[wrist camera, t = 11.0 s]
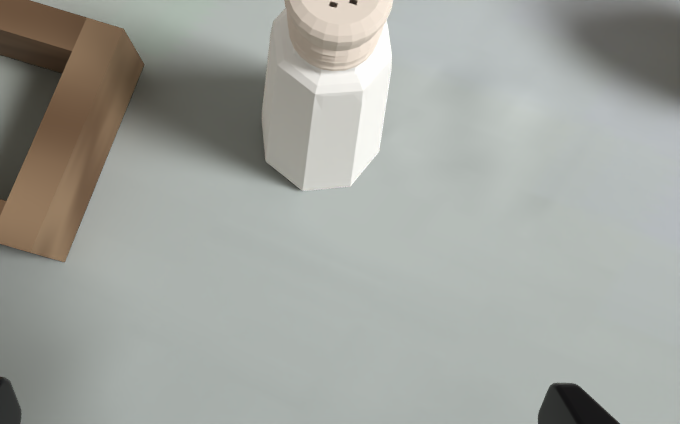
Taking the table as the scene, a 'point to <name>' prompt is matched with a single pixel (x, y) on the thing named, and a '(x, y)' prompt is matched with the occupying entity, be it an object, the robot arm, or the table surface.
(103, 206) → the table surface
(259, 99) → the table surface
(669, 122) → the table surface
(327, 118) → the pepper shaker
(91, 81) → the socket block
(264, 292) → the table surface
